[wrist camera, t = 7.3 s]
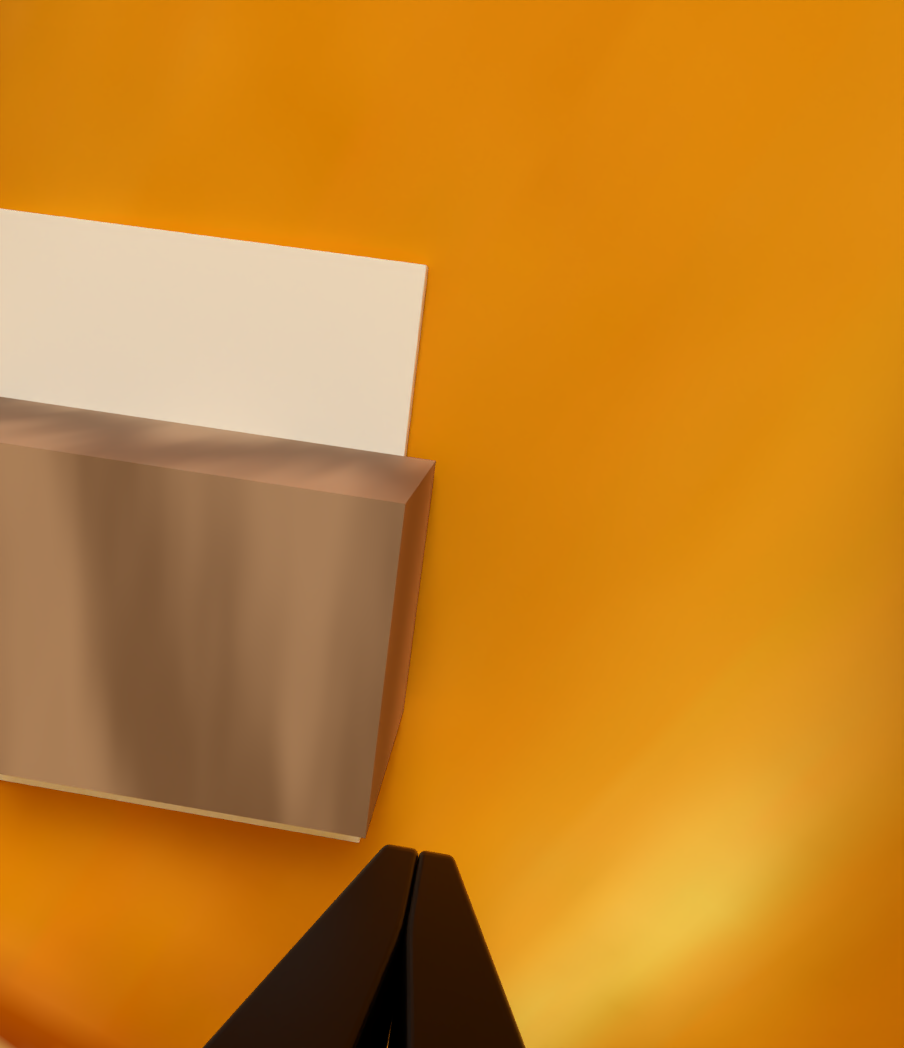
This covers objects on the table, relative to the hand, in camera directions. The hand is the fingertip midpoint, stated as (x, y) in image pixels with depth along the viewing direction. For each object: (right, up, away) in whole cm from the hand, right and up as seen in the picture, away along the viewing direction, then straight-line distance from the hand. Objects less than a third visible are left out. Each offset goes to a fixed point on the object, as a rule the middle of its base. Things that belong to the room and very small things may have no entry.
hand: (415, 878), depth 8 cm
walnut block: (-1, +2, +7) cm, 7 cm away
